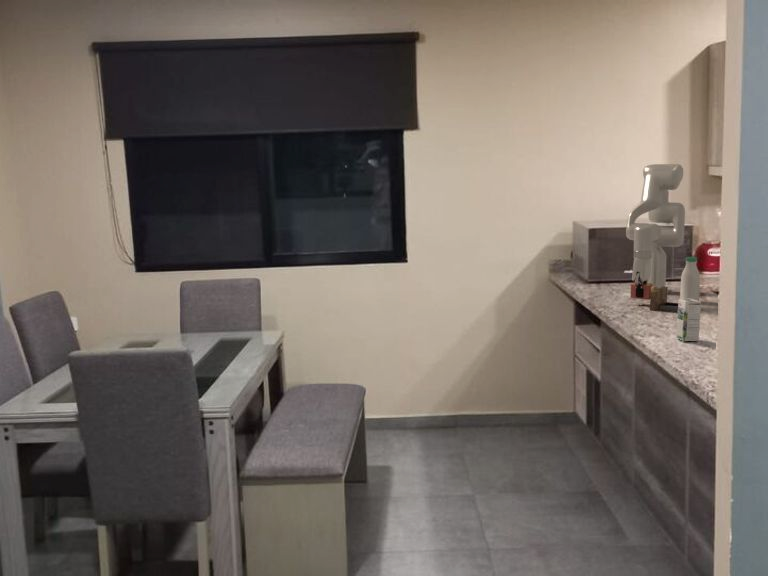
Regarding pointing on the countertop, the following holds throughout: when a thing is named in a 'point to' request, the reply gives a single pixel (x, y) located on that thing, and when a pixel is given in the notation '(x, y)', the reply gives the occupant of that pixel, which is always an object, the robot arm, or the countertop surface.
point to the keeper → (669, 306)
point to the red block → (645, 291)
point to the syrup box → (688, 320)
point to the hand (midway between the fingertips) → (641, 295)
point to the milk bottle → (690, 280)
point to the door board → (657, 297)
